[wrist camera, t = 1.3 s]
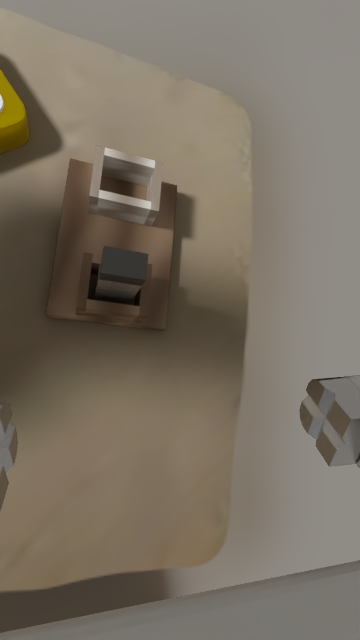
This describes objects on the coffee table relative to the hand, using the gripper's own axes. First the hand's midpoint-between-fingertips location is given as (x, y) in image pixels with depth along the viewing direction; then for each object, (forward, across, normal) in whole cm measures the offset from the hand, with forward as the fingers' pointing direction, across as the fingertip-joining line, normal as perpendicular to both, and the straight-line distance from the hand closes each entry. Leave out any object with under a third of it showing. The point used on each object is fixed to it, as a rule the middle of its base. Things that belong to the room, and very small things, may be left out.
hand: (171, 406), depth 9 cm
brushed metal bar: (+30, +2, +11) cm, 32 cm away
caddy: (+35, +1, +7) cm, 36 cm away
